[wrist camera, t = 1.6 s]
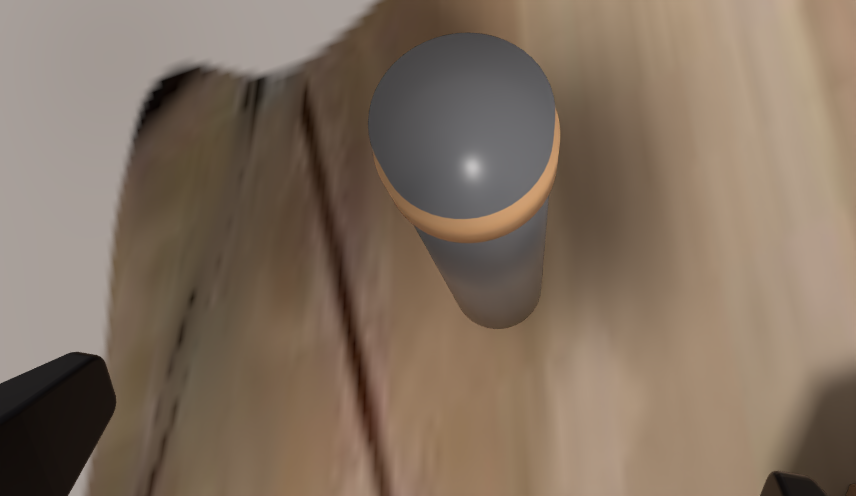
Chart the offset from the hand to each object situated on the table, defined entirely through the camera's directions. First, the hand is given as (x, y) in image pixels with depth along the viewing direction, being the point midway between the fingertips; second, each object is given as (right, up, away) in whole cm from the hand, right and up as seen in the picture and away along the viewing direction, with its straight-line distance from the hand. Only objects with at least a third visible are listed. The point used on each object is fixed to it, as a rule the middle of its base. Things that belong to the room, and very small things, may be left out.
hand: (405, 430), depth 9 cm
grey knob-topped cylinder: (+3, +1, +13) cm, 13 cm away
